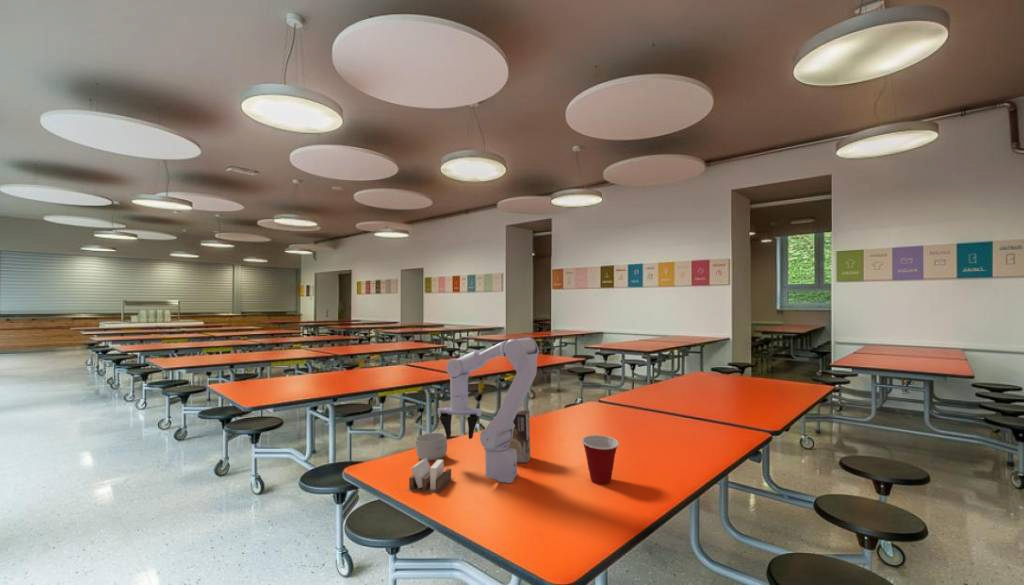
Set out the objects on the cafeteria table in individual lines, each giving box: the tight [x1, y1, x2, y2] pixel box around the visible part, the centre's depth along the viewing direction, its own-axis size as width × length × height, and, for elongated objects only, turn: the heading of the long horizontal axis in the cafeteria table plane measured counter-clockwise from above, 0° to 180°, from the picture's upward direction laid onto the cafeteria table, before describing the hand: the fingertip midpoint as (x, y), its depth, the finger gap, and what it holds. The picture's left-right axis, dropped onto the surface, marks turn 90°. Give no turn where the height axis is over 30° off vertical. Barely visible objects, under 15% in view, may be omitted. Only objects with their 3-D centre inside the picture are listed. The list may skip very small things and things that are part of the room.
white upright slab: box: [430, 459, 445, 490], centre depth 124 cm, size 2×7×6 cm, turn 173°
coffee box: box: [509, 409, 532, 464], centre depth 148 cm, size 9×6×16 cm
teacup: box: [414, 431, 448, 462], centre depth 150 cm, size 14×11×8 cm
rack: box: [405, 468, 454, 494], centre depth 125 cm, size 10×11×4 cm
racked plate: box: [410, 458, 431, 489], centre depth 125 cm, size 2×7×6 cm, turn 167°
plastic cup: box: [581, 434, 620, 485], centre depth 127 cm, size 11×11×12 cm
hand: (459, 437), depth 140 cm, fingers open, 7 cm apart
